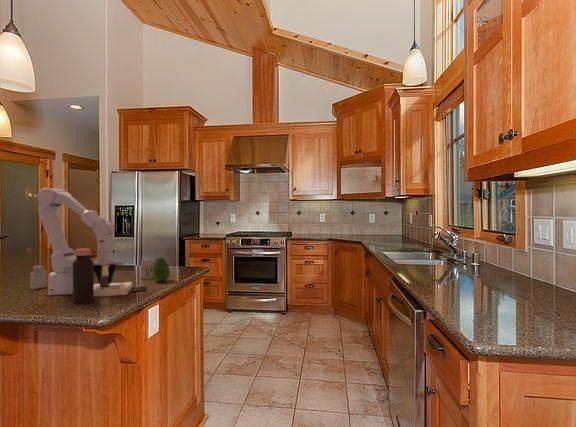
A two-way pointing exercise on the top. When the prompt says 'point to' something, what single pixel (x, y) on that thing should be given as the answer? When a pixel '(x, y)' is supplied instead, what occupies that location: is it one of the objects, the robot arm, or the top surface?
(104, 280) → the breaker slider
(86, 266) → the bottle
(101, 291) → the power strip
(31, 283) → the power adapter
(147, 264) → the electrical switch
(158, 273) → the avocado
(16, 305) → the top surface
